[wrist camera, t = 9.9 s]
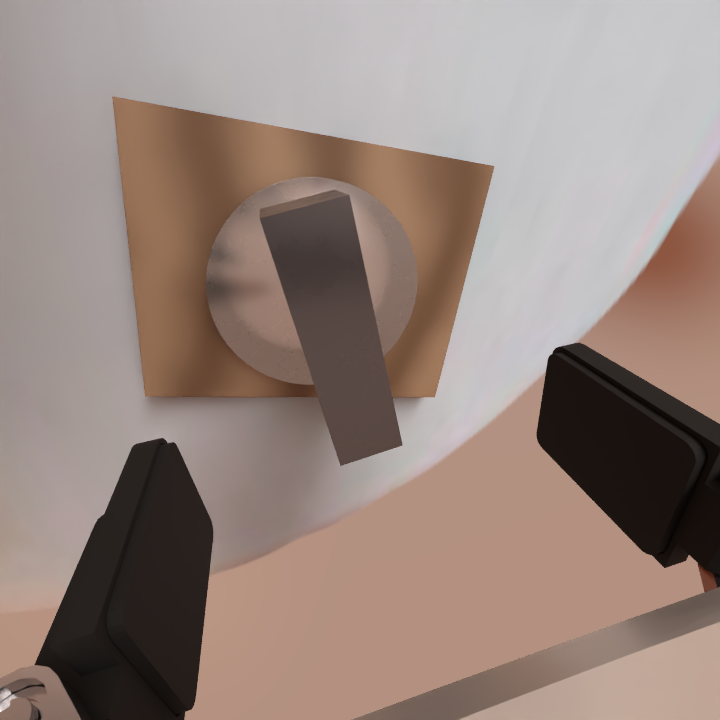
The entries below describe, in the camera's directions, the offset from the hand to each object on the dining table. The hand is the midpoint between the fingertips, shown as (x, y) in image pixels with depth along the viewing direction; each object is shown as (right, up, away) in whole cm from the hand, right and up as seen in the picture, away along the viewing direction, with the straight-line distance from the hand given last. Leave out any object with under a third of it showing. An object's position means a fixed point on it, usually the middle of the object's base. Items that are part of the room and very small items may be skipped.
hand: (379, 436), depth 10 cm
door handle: (-3, +5, +14) cm, 16 cm away
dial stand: (-4, +7, +16) cm, 18 cm away
